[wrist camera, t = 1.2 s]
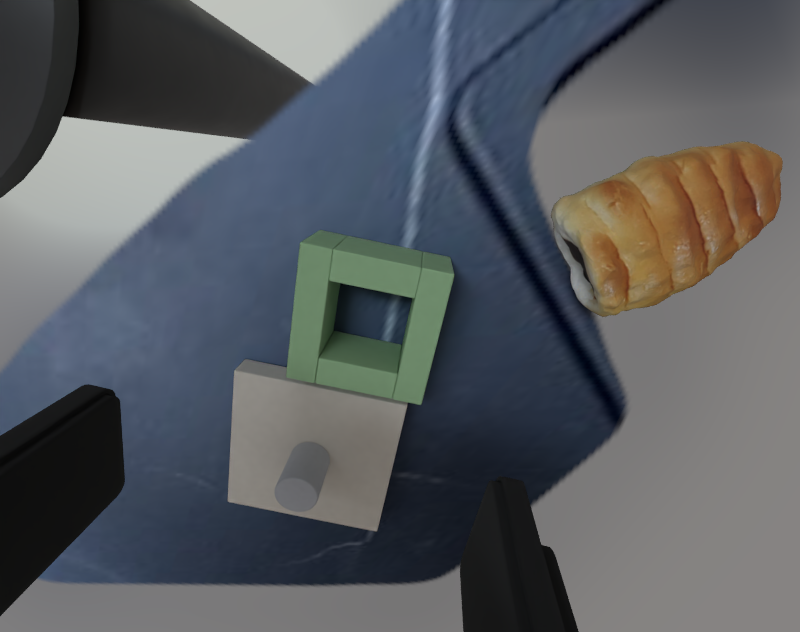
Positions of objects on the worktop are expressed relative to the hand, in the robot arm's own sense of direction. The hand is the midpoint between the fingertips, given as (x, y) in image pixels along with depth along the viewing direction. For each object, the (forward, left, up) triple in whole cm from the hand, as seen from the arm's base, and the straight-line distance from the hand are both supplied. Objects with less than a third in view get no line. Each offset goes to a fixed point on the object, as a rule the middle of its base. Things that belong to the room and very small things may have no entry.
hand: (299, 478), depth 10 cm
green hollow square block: (0, 0, -13) cm, 13 cm away
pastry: (-7, +12, -13) cm, 19 cm away
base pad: (+10, -2, -13) cm, 17 cm away
